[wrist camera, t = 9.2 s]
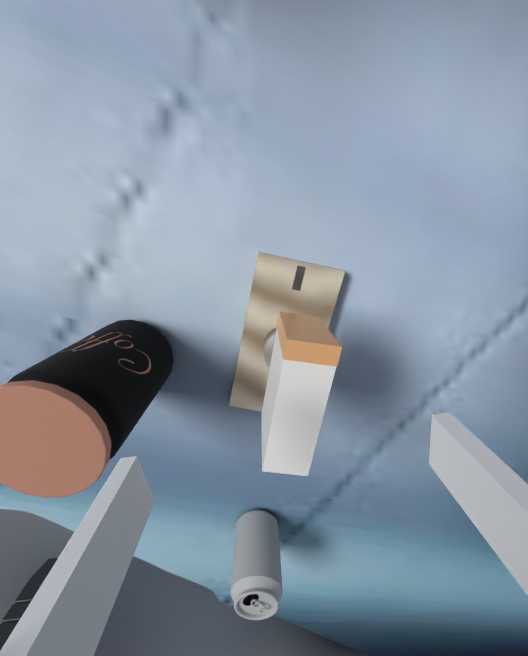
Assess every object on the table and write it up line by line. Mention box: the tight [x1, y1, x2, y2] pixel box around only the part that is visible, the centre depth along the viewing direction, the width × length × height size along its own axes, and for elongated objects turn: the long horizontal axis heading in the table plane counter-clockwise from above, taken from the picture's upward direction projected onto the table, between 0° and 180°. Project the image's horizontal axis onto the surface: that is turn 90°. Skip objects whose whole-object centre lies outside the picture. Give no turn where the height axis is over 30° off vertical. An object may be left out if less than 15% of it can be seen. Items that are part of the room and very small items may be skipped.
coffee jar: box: [0, 320, 173, 498], centre depth 29 cm, size 11×11×18 cm
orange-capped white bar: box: [262, 311, 342, 476], centre depth 26 cm, size 4×12×11 cm, turn 171°
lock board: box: [229, 252, 345, 411], centre depth 35 cm, size 22×11×6 cm, turn 168°
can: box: [231, 509, 282, 620], centre depth 42 cm, size 8×8×12 cm
